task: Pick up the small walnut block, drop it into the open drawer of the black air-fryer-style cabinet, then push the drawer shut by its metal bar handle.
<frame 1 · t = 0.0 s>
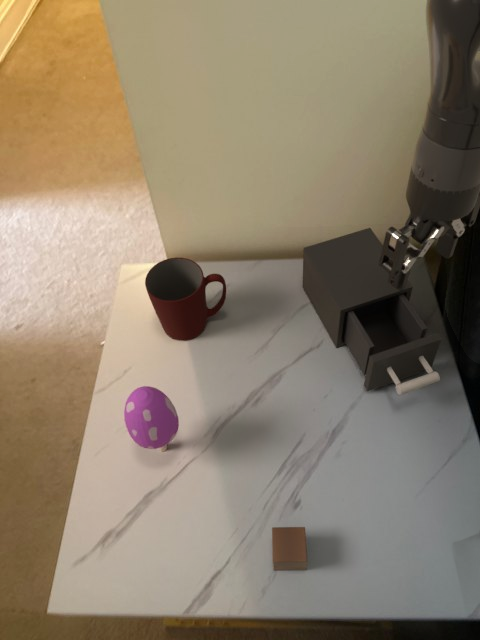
hand: (420, 269, 72), 19 cm above the table, tool pointing down, fingers open, 8 cm apart
block: (289, 553, 70), on the table
toy: (163, 448, 80), on the table
drawer: (389, 344, 82), point 5 cm above the table, slide at 8.0 cm
cabinet: (350, 305, 93), on the table
mug: (194, 322, 94), on the table
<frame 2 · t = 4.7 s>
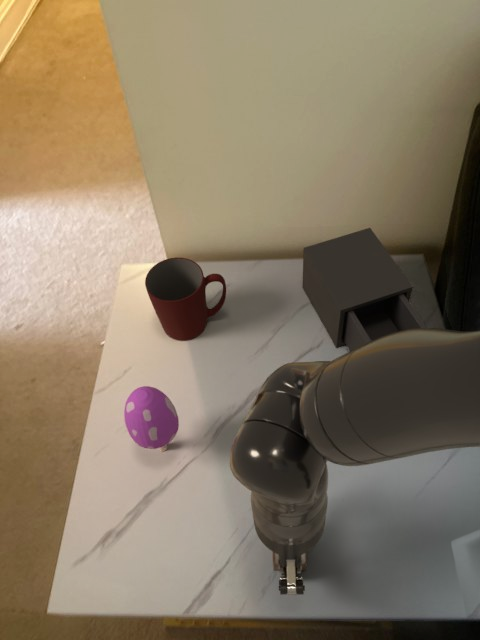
hand: (289, 552, 70), 0 cm above the table, tool pointing down, fingers closed on block, 4 cm apart
block: (289, 553, 70), on the table, touching gripper
everything else where it was.
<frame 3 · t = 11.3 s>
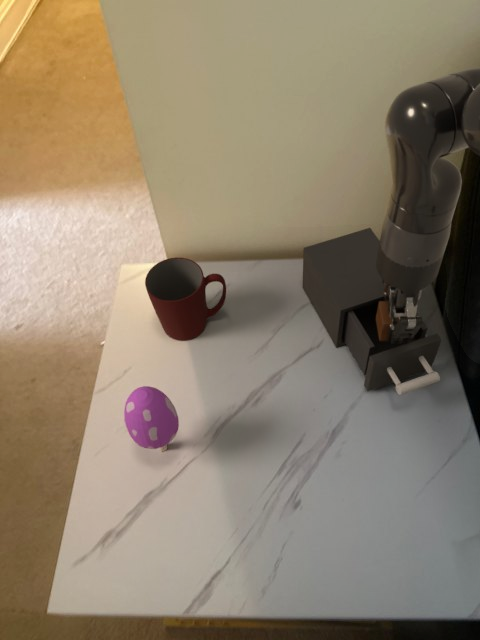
hand: (392, 328, 80), 8 cm above the table, tool pointing down, fingers closed on block, 4 cm apart
block: (391, 329, 80), point 8 cm above the table, touching gripper
everything else where it was.
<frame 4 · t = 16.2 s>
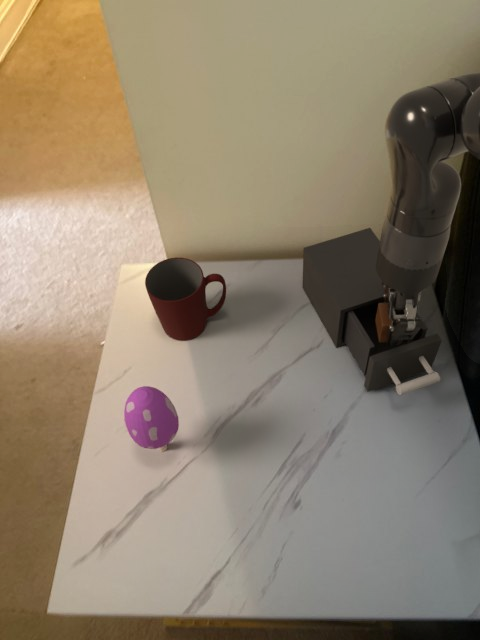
hand: (391, 329, 80), 8 cm above the table, tool pointing down, fingers closed on block, 4 cm apart
block: (391, 330, 80), point 8 cm above the table, touching gripper
everything else where it was.
when the fingers open (10 cm above the table, at t = 20.7 s): block drops 8 cm, resting on drawer.
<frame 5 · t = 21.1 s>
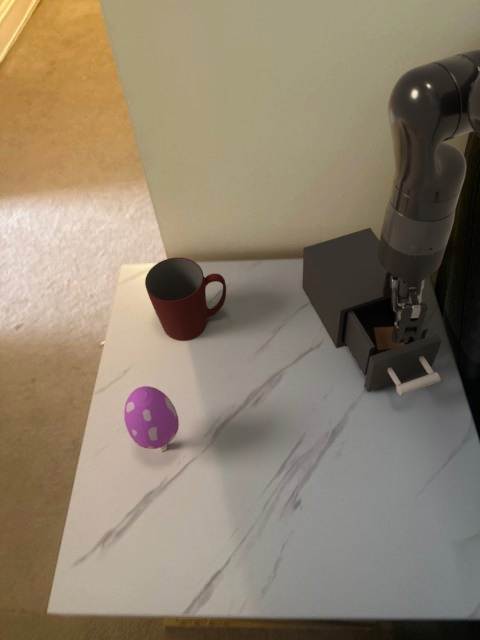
hand: (394, 316, 78), 11 cm above the table, tool pointing down, fingers open, 7 cm apart
block: (385, 353, 85), point 2 cm above the table, touching drawer
drawer: (389, 344, 82), point 5 cm above the table, slide at 8.1 cm, touching block
everything else where it was.
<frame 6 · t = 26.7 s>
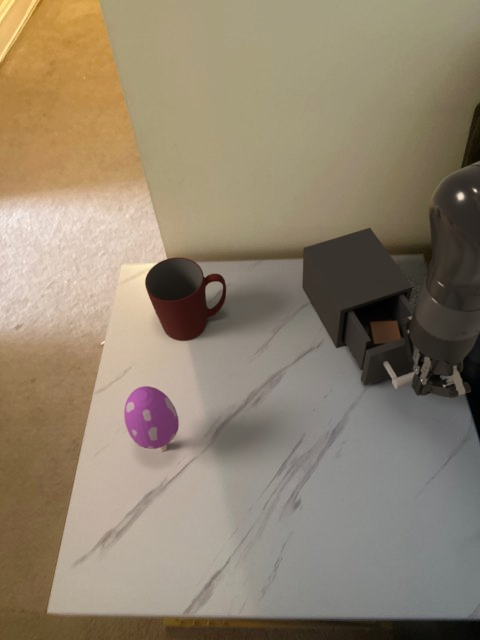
hand: (420, 389, 77), 5 cm above the table, tool pointing down, fingers closed
block: (382, 347, 85), point 2 cm above the table, touching drawer
drawer: (386, 338, 83), point 5 cm above the table, slide at 7.0 cm, touching block, gripper
everything else where it was.
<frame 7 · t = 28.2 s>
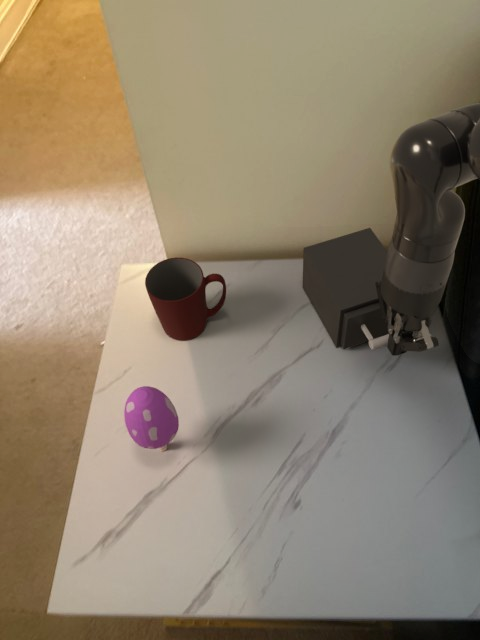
hand: (395, 350, 81), 5 cm above the table, tool pointing down, fingers closed
block: (361, 313, 90), point 2 cm above the table, touching drawer
drawer: (364, 304, 87), point 5 cm above the table, slide at 0.0 cm, touching block, cabinet, gripper
everything else where it was.
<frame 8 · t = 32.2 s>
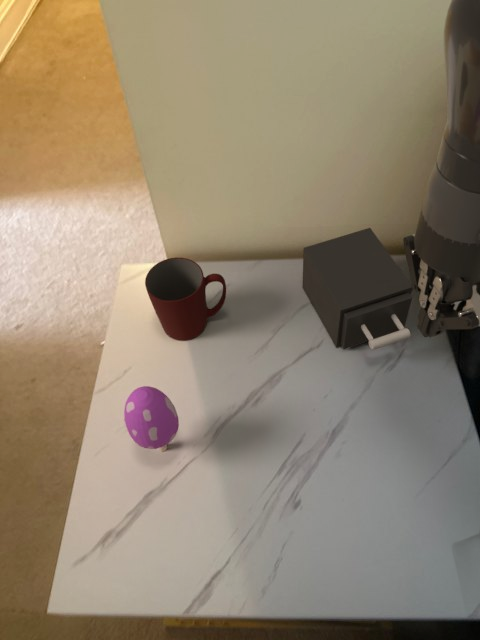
hand: (428, 330, 61), 23 cm above the table, tool pointing down, fingers closed
drawer: (364, 304, 87), point 5 cm above the table, slide at 0.0 cm, touching block
everything else where it was.
at the end: block inside the target area in the cabinet (3.4 cm from its centre), point 2.0 cm above the cabinet's base; drawer slide at 0.0 cm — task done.
